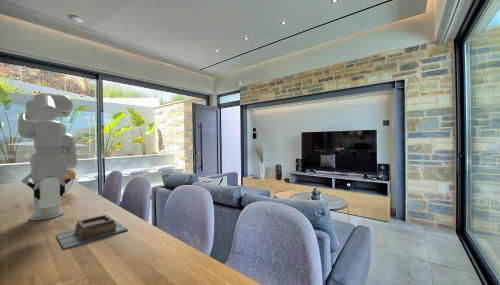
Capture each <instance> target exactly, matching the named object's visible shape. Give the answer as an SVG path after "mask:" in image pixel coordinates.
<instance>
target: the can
mask: <svg viewBox="0 0 500 285" xmlns="http://www.w3.org/2000/svg"><path fill="white" fill-rule="evenodd" d="M60 184H61V183H60V180H59V179H57V178H56V176H54V177H44V179H43V180H42V181H41V182H40V185H39V190H40V199H39V200H38V203H39V208H42V209H46V208H53V207H56V206H59V205H60V206H61V202H62V200H61V199H62V198H61V197H62V196H61V194H60Z"/></svg>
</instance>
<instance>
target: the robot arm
mask: <svg viewBox="0 0 500 285" xmlns="http://www.w3.org/2000/svg"><path fill="white" fill-rule="evenodd" d="M73 105H74V103H73V101H72V98H71V97H69V95H66V94H58V93H57V94H56V93H48V92H41V93H37V94H35V95H34V97H32V100H28V101H27V102H26V103H25V111H23V112H21V113H20V114H19V117H18V122H17V133H18V135H19V136H20V137H21V138H24V139H30V140H31V139H33V146H34V148H35V153H33V154H32V155H30V158H29V164H30V168H31V170H30V173H28V174H27V175H26V176H25V177H24V178H22V179H21V183H23V184H25V185H26V186H28V187H29V188H31V189H32V191H33V194H32V195H33V214H31V215H30V216H29V217H28V219H29V220H31V221H44V220H49V219H53V218H57V217H60V216H62V215H64V214H65V210H64V209H61V204H60V205H59V206H56V207H53V208H46V209H42V208H39V203H38V200H39V199H40V190H39V185H40V182H41V181H42V180H43V179H44V177H54V176H56V178H57V179H59V180H60V194H61V197H64V194H66V186H67V184H69V183H70V182H71V181H72V179H74V178H75V176H76V175H75V174H74V173H72V172H70V170H73V169H74V168H76V167H77V165H78V153H77V147H76V140H75V137H74V135H73V134H71V133H68V132H67V129H66V128H67V127H66V125H65V124H64V123H63V122H61V121H59V120H56V119H58V118H68V117H70V115H71V113H72V111H73V107H74V106H73ZM67 176H68V177H67ZM30 179H31V180H32V182H31V181H29V180H30Z"/></svg>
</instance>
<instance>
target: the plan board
mask: <svg viewBox="0 0 500 285" xmlns="http://www.w3.org/2000/svg"><path fill="white" fill-rule="evenodd" d="M74 228H75V229H74V230H69V231H66V232H62V233H57V234H55V237H56V238H57V241H58V242H59V244H60V246H61V247H62V249H63V250H67V249H70V248H74V247H77V246H80V245H83V244H84V245H85V244H88V243H91V242H94V241H98V240H101V239H104V238H108V237H111V236H114V235H119V234H121V233H126V232H127V231H129V229H128V228H126V226H124V225H122V224H121V223H119V222H118V221H117V220H115V219H113V218H112V217H110V216H109V215H107V214H102V215H99V216H94V217H90V218H85V219H80V220H77V221H76V224H75V227H74Z"/></svg>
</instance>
